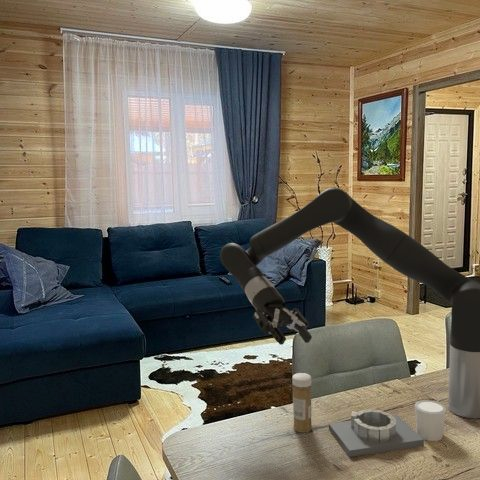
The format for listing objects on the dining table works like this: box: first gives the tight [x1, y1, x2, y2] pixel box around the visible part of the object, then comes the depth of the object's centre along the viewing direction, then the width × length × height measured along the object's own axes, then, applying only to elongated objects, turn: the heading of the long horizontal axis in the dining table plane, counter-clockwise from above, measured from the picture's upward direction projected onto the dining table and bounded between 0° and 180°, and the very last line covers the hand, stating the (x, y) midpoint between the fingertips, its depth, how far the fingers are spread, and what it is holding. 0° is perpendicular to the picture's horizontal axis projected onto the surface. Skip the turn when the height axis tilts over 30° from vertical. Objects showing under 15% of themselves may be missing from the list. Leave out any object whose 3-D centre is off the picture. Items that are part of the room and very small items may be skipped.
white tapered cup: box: [414, 399, 447, 442], centre depth 113 cm, size 7×7×7 cm
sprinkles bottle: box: [291, 372, 313, 434], centre depth 117 cm, size 5×5×13 cm
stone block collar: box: [350, 408, 396, 442], centre depth 113 cm, size 9×10×3 cm
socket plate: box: [328, 413, 425, 458], centre depth 113 cm, size 18×12×2 cm, turn 101°
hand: (296, 341), depth 116 cm, fingers open, 8 cm apart
